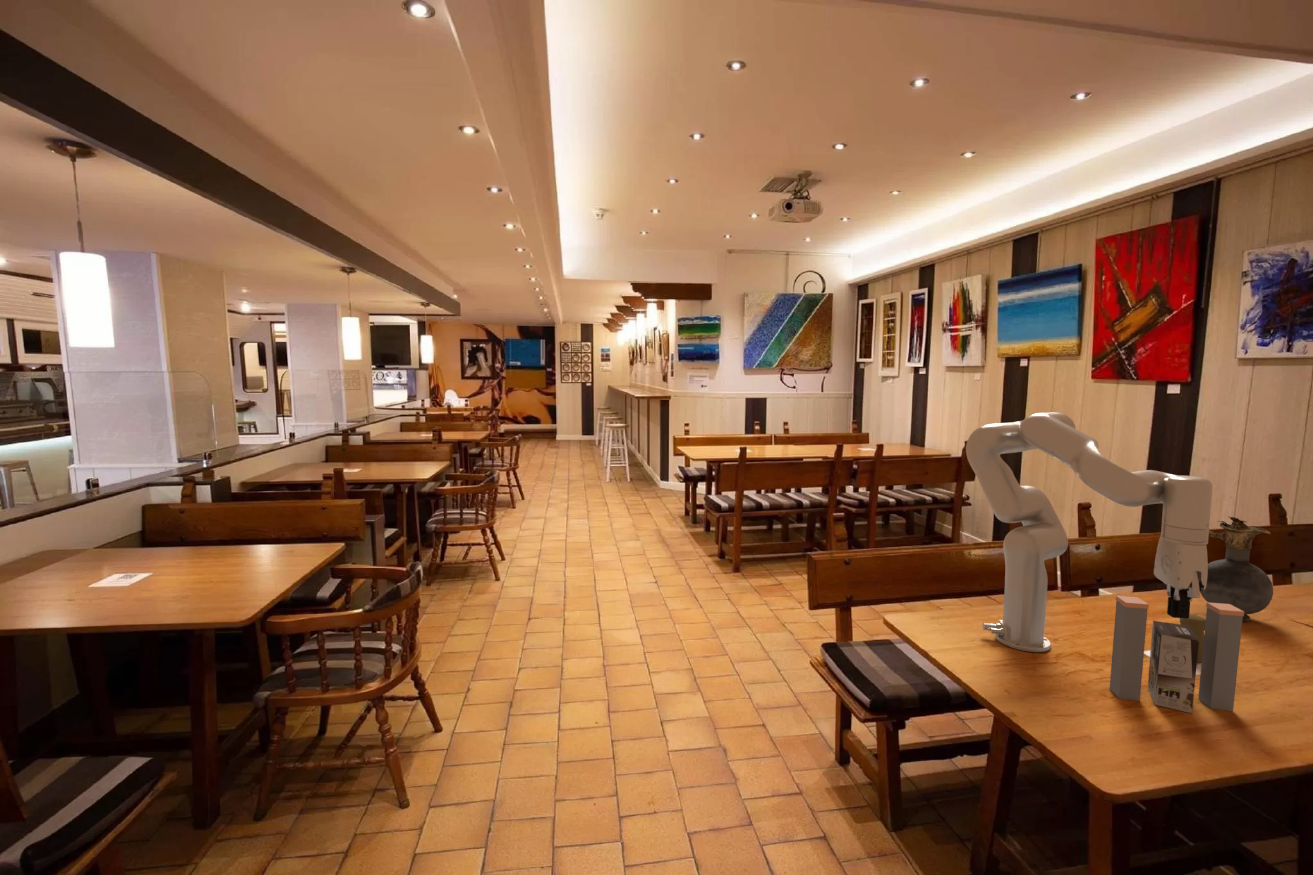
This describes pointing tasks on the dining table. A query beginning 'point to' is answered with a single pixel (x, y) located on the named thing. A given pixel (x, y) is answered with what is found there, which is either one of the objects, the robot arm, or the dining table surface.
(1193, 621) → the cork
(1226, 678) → the post far
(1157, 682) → the coffee box
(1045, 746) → the dining table surface
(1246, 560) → the pitcher
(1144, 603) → the post near base
